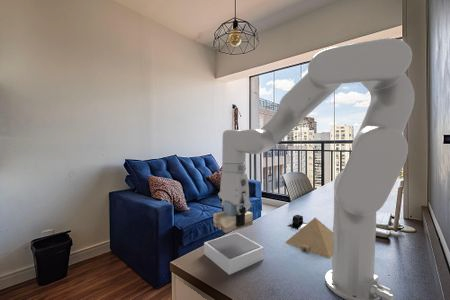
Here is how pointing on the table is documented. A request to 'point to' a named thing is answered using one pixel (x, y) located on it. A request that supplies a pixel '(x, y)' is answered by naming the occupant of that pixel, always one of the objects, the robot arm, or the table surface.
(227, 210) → the light blue block
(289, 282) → the table surface
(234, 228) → the pallet
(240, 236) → the white square tray
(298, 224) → the black block on base
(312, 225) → the model pyramid
